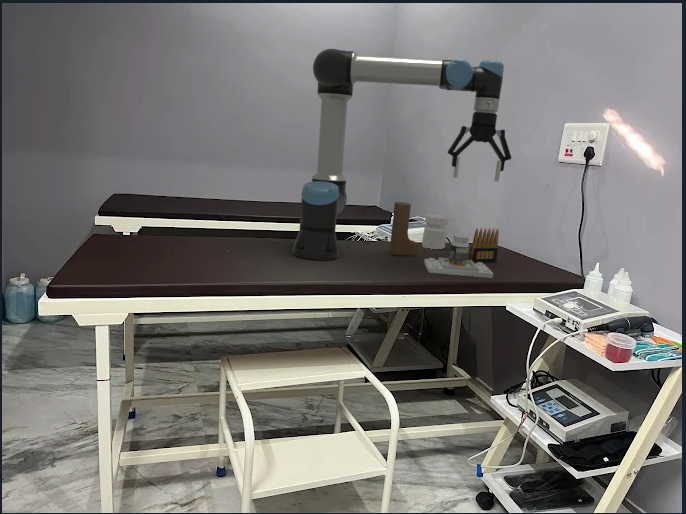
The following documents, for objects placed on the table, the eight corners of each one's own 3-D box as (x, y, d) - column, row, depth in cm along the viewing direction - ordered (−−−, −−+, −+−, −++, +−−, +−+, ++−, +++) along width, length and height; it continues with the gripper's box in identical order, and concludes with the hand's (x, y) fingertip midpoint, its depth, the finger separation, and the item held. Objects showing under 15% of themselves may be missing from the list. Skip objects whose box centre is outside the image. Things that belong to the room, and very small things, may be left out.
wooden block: (412, 253, 198) (418, 203, 194) (417, 256, 194) (423, 205, 190) (388, 252, 196) (394, 201, 192) (393, 255, 192) (398, 203, 187)
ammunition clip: (493, 260, 198) (498, 227, 195) (496, 262, 196) (501, 228, 193) (468, 261, 193) (473, 227, 191) (471, 262, 192) (476, 228, 189)
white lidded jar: (417, 244, 213) (421, 214, 210) (435, 244, 217) (439, 214, 214) (430, 250, 206) (434, 218, 203) (449, 249, 210) (453, 218, 207)
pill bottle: (446, 263, 180) (450, 233, 178) (463, 264, 181) (467, 234, 179) (450, 267, 175) (455, 236, 172) (468, 268, 175) (472, 238, 173)
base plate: (428, 272, 172) (429, 264, 172) (423, 263, 184) (424, 255, 184) (492, 278, 172) (493, 270, 172) (483, 268, 184) (485, 261, 184)
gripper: (448, 108, 173) (439, 176, 178) (527, 115, 173) (517, 183, 178) (444, 109, 180) (436, 174, 185) (520, 116, 180) (510, 181, 185)
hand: (475, 179), depth 181 cm, fingers open, 13 cm apart
